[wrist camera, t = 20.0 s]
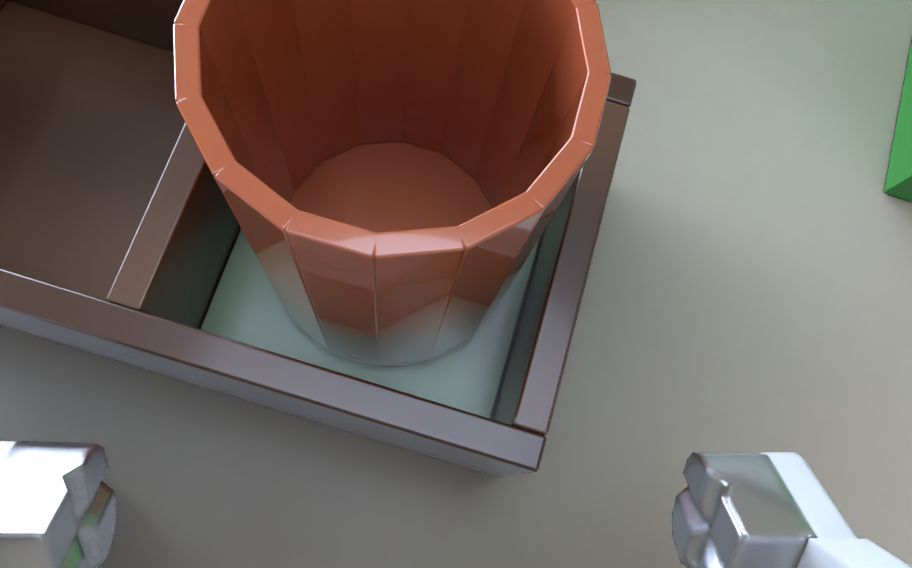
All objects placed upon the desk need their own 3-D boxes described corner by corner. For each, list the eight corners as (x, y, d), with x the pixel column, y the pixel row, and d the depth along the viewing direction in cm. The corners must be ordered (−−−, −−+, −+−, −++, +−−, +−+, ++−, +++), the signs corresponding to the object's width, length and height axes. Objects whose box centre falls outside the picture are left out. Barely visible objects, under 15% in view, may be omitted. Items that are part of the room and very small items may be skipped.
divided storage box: (500, 477, 21) (538, 472, 16) (-150, 278, 21) (-329, 206, 16) (582, 170, 24) (637, 79, 19) (10, -8, 24) (-98, -151, 18)
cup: (474, 396, 20) (554, 310, 11) (234, 326, 20) (101, 178, 11) (533, 177, 22) (646, -61, 13) (314, 112, 22) (261, -177, 13)
